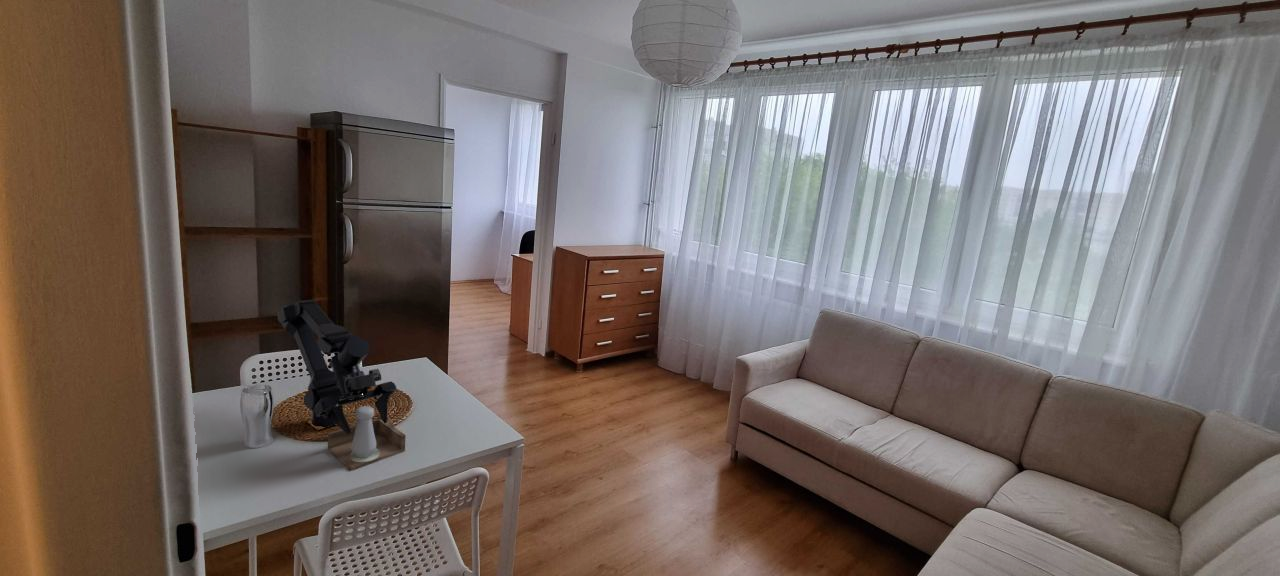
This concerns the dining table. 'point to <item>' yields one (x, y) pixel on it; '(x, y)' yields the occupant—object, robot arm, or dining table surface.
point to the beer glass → (257, 414)
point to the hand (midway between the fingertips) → (368, 428)
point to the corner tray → (386, 444)
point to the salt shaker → (364, 433)
